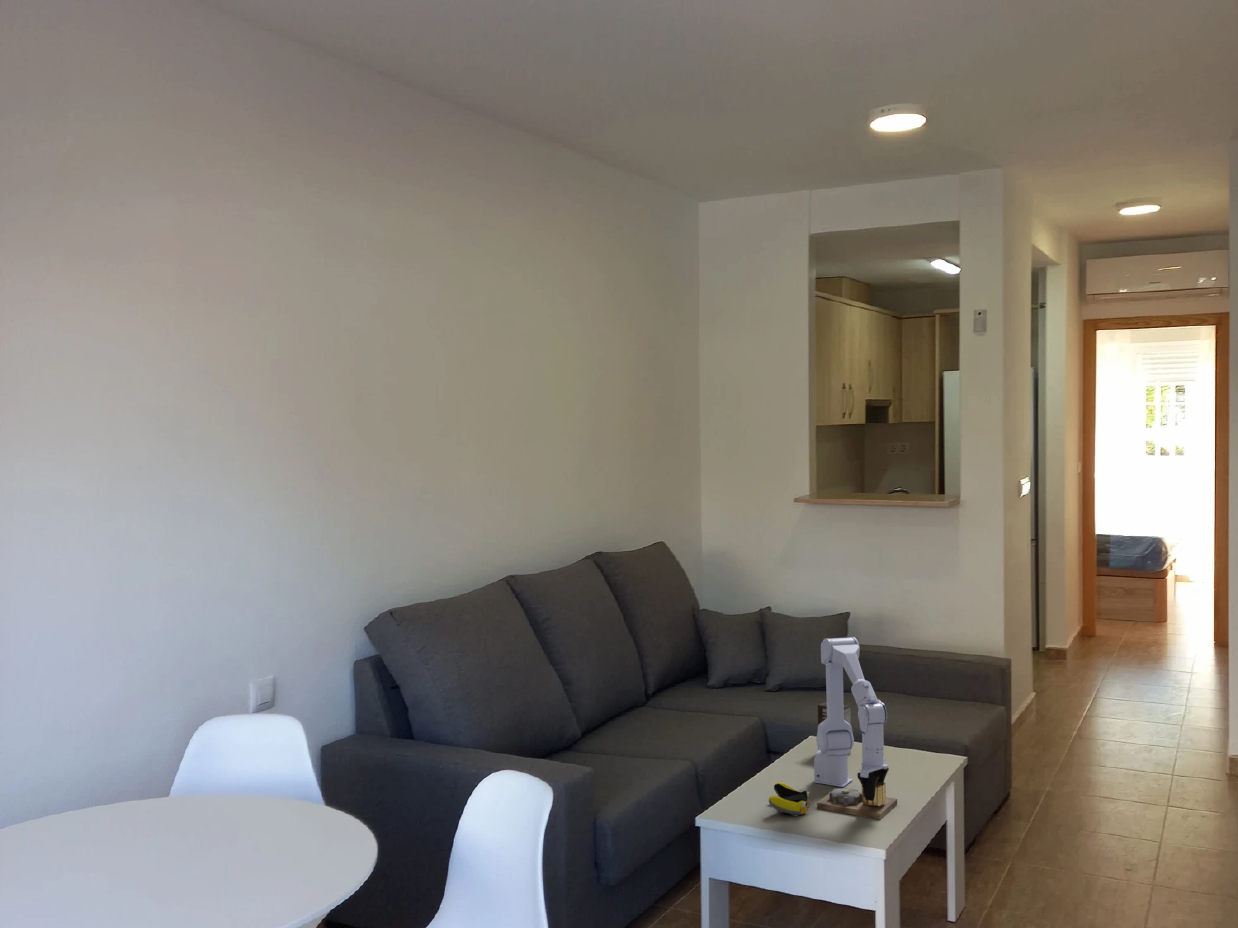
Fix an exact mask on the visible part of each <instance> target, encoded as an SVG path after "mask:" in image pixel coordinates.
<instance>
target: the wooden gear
mask: <svg viewBox="0 0 1238 928" xmlns="http://www.w3.org/2000/svg"><path fill="white" fill-rule="evenodd" d="M886 786H887V785H886V782H885V781H884V782H879V781H877V784H876V789H875V797H874V800H873V801H870V800H866V799H865V795H864V791H863V787H862V786H861V793H862V803H863V804H864V803H865V804H868V805H877V806H881V805H882V804H884V803H885V801H886V797H887V796H886V795H887V794H886V791H887V790H886V789H887V788H886Z"/></svg>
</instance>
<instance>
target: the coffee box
mask: <svg viewBox="0 0 1238 928" xmlns="http://www.w3.org/2000/svg"><path fill="white" fill-rule="evenodd" d="M851 707H852V706H851V705H849V704H844V720H845V721H846V722H848V723H849V724H850V725H851V721H852V720H851V718H852V716H851V715H852V713H851V712H852V709H851ZM826 719H827V700H826V701H824V702H821V703H819V704H817V726H818V725H819V724H820V723H822V722H823V721H824V720H826ZM851 726H852V725H851ZM818 750H819V748H818V747H817V751H818ZM851 753H852V749H851V750H850V753H848V756H850V755H851Z"/></svg>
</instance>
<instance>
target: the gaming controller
mask: <svg viewBox="0 0 1238 928" xmlns="http://www.w3.org/2000/svg"><path fill="white" fill-rule="evenodd" d="M773 790H774V792H775V794H776V795H771V796H769V798H768V803H769V805H771V807H772V808H773V809H774V810H776V811H777V812H779V813H784V814H790V815H791V816H793V815H794V817H797V816H796V815H799V816H800V815H804V814H807V813H808V807H809V806H810V799H809V795H810V791H808V790H803V791H802V790H801V791H798V790H796V789H794V788H793V787H791V786H790V785H788V784H786V783H785V782H779V781H778V782H776V783H774V786H773Z"/></svg>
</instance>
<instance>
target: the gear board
mask: <svg viewBox="0 0 1238 928" xmlns="http://www.w3.org/2000/svg"><path fill="white" fill-rule="evenodd" d="M897 805H898V798H894V797H888V796H886V801H885V803H884V804H882V805H881V806H877V805H868V804H865V803H864V804H863V803H862V792H859V790H858V789H852V788H847V787H841V788H832V790H831V791H829V792H828V794H826V795H825V796H824V797H823V798H821V799H820V800H819V801H817V802H816V808H817V809H820V810H827V811H831V812H837V813H842V814H843V813H844V814H849V815H854V816H858V817H865V818H871V819H876V820H882V819H883V818H884V817H885V816H886V815H888V813H890V811H891V810H893V809H894V808H895V807H896V806H897Z"/></svg>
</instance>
